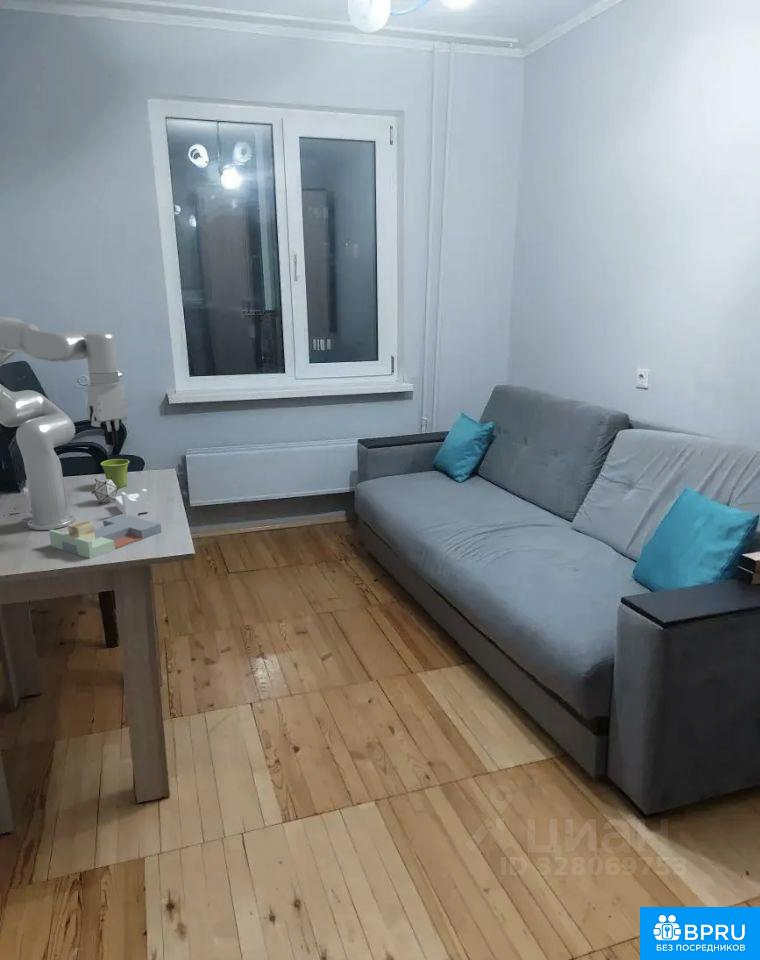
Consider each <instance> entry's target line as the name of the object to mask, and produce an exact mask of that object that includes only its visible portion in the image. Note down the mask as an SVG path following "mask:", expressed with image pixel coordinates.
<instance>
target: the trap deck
mask: <svg viewBox="0 0 760 960" xmlns="http://www.w3.org/2000/svg"><path fill="white" fill-rule="evenodd" d="M102 522H103V526H102V527H100V528H96V529H94V533H95V540H92V541H90V540H86V539H83V538H80V537H76V536H73V535H70V534H69V532H68V531H65V532H63V531H59V530H56V529H50V530H48V532H49V533H48V534H49V539H50V540H49V541H50V545H51V547H53V548H56V549H60V550H63V551H65V552H69V553H71V554H75V555H78V556H81V557H84V558H86V559H94V558H96V557H98V556H101V555H104V554H106V553H109V552H112V551H114V550H117V548H118V549H120V548H123V547H125V545H126V546H128V545H130V543H131V544H133V542H134V543H136V542H138V540H139V541H142V540H145V539H147V538H150V537H152V536H155V535H157V534H159V533H162V526H161V523H159V522H154V521H151V520H146V519H144V518H139V517H137V516H128V515H124V514H122V513H121V514H118V515H114V516H112V517H108V518H105V519H103V520H102Z"/></svg>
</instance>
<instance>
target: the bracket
mask: <svg viewBox="0 0 760 960" xmlns="http://www.w3.org/2000/svg"><path fill="white" fill-rule="evenodd" d="M120 494H121V495H118V496H116V497H115V501H114V504H115V508H116V507H117V508H118V509H119V510H120V511H121V512H122V513H123V514H124V515H128V516H132V517H135V516H134V515H138V516H139V514H142V513H147V512H148V513H149V512H150V503H149V495H148V490H147V489H146V488H141V493H140V494H139V493H131V494H127V493H126V492H125V491H124V492H121V493H120ZM117 508H116V509H117ZM118 509H117V510H118ZM119 510H118V511H119ZM120 511H119V512H120ZM121 512H120V513H121ZM122 513H121V514H122Z"/></svg>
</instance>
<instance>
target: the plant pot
mask: <svg viewBox="0 0 760 960" xmlns="http://www.w3.org/2000/svg"><path fill="white" fill-rule="evenodd" d="M129 464H130V460H128V459H123V458H113V459H108V460H104V461H102V462H100V466H102V469H103V471H104V475H105V480H106V479H111V477H112V479H111V480H112V481H113V482H114V484H115V485H116V486H117V488H118V487H120V488H124V487H126V486H127V482H128V466H129Z"/></svg>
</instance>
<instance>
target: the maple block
mask: <svg viewBox="0 0 760 960" xmlns="http://www.w3.org/2000/svg"><path fill="white" fill-rule="evenodd" d="M94 526H95V525H94V523H93V522H90V521H86V520H80V521H77V522H73V523H71V524H70V525H67V530H68V531H67V532H69V534H70V535H73V536H76V537H80V538H83V539H86V540H90V541H92V540H95V533H94V530H95V527H94Z"/></svg>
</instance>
